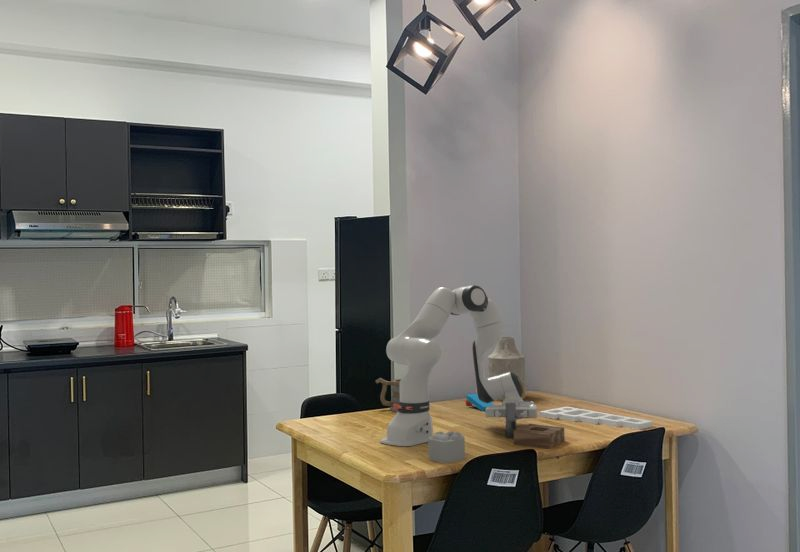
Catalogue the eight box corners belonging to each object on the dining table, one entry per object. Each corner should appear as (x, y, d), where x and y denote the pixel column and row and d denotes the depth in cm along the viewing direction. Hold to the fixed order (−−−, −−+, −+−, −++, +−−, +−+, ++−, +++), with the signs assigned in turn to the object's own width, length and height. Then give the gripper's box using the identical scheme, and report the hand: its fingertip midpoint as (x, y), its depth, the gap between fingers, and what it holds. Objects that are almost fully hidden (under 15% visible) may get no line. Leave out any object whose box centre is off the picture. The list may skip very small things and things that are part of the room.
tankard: (420, 408, 353) (420, 376, 353) (414, 413, 341) (413, 380, 341) (380, 406, 359) (379, 375, 359) (372, 411, 347) (371, 379, 347)
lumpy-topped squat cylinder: (424, 458, 257) (424, 433, 257) (450, 452, 266) (450, 427, 266) (446, 464, 250) (446, 438, 250) (472, 456, 259) (472, 431, 259)
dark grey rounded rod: (513, 438, 285) (513, 404, 285) (504, 437, 287) (503, 403, 287) (518, 436, 288) (517, 403, 288) (508, 435, 290) (508, 402, 290)
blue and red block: (493, 419, 346) (472, 403, 361) (495, 405, 344) (474, 390, 360) (481, 421, 343) (460, 404, 358) (483, 407, 341) (462, 391, 356)
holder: (653, 427, 301) (652, 421, 301) (624, 434, 291) (624, 427, 291) (567, 412, 338) (566, 406, 338) (539, 417, 327) (539, 411, 327)
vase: (505, 393, 390) (504, 335, 390) (532, 397, 376) (531, 336, 376) (481, 397, 378) (479, 337, 378) (508, 402, 364) (507, 339, 364)
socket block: (549, 448, 268) (549, 434, 268) (513, 444, 276) (513, 430, 276) (564, 440, 279) (564, 427, 279) (530, 436, 287) (529, 423, 287)
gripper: (486, 400, 302) (483, 406, 289) (537, 401, 298) (537, 407, 285) (486, 416, 302) (483, 423, 289) (537, 417, 298) (537, 424, 285)
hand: (510, 415), depth 287 cm, fingers open, 7 cm apart
